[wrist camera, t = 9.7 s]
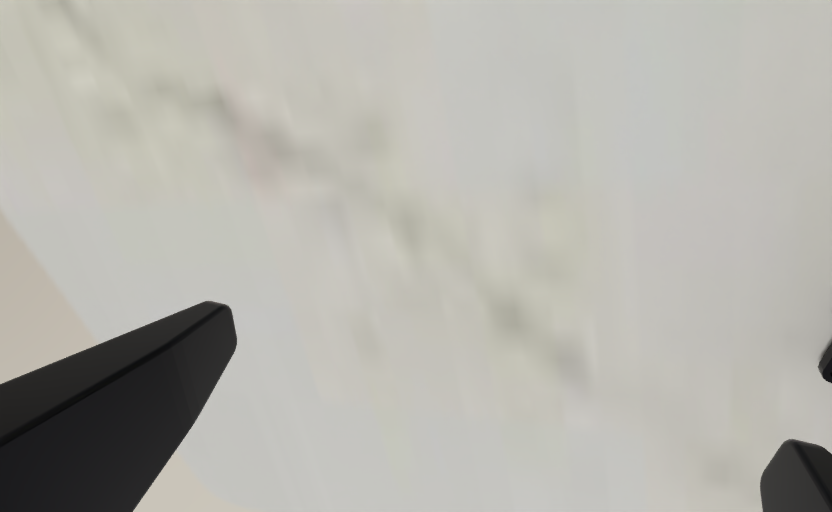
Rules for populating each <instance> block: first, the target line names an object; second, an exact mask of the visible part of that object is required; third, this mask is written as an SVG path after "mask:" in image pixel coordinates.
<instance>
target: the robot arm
mask: <svg viewBox="0 0 832 512" xmlns="http://www.w3.org/2000/svg"><path fill="white" fill-rule="evenodd" d="M236 345H237V336H236V331H235V326H234V320H233V315H232V311H231V309H230V307H229V306H227V305H225V304H221V303H217V302H213V301H205V302H202V303H200V304H197V305H195V306H192V307H190V308H187V309H185V310H182V311H180V312H177V313H175V314H173V315H170V316H168V317H165V318H163V319H160V320H158V321H155V322H153V323H150V324H148V325H145V326H143V327H141V328H138V329H136V330H133V331H131V332H128V333H126V334H123V335H121V336H118V337H116V338H113V339H111V340H108V341H106V342H103V343H101V344H99V345H96V346H94V347H91V348H89V349H86V350H84V351H81V352H79V353H76V354H74V355H71V356H69V357H66V358H64V359H62V360H59V361H57V362H54V363H52V364H49V365H47V366H45V367H42V368H39V369H37V370H34V371H32V372H30V373H27V374H25V375H22V376H20V377H17V378H15V379H12V380H10V381H7V382H5V383H2V384H0V512H133V510H134V509H135V508H136V506H137V505H138V503H139V502H140V500H141V499H142V498H143V496H144V495H145V493H146V492H147V490H148V489H149V487H150V486H151V485H152V483H153V482H154V480H155V479H156V478H157V476H158V475H159V473H160V472H161V470H162V469H163V467H164V466H165V465H166V463H167V462H168V460H169V459H170V458H171V456H172V454H173V453H174V452H175V450H176V449H177V448H178V446H179V445H180V443H181V442H182V440H183V439H184V438H185V436H186V435H187V433H188V432H189V430H190V429H191V427H192V426H193V424H194V423H195V421H196V419H197V418H198V416H199V414H200V413H201V411H202V409H203V407H204V405H205V404H206V402H207V400H208V398H209V397H210V395H211V393H212V391H213V389H214V388H215V386H216V384H217V382H218V380H219V379H220V377H221V375H222V373H223V372H224V370H225V368H226V366H227V364H228V363H229V361H230V359H231V357H232V355H233V354H234V352H235V349H236ZM818 368H819V371H820V373H821V375H822V377H823V378H824V379H825V380H826V381H828V382H831V383H832V344H831V346H830V347H829V349H828V350H827V352H826V354H825V355H824V357H823V358H822V360H821V361H820V363H819V366H818ZM760 491H761V499H762V508H763V512H832V454H831V453H830V452H828V451H827V450H826V449H825V448H823V447H821V446H819V445H816V444H812V443H807V442H803V441H799V440H795V439H789V440H787V441H785V442H784V443H783V444H782V445H781V447H780V448H779V449H778V451H777V452H776V454H775V455H774V457H773V458H772V460H771V461H770V463H769V464H768V466H767V467H766V469H765V470H764V472H763V474H762V477H761V482H760Z"/></svg>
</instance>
